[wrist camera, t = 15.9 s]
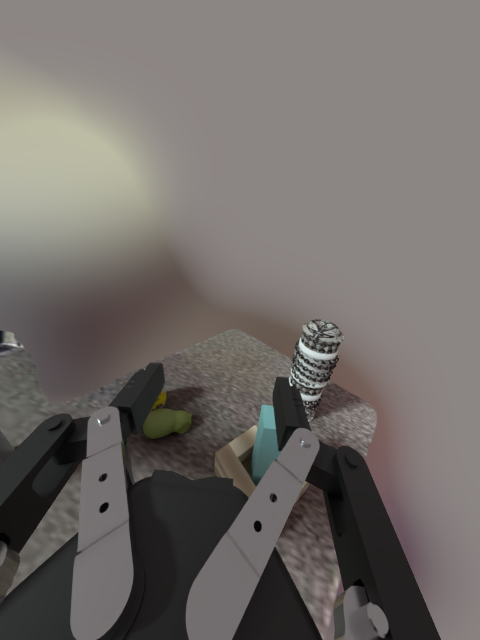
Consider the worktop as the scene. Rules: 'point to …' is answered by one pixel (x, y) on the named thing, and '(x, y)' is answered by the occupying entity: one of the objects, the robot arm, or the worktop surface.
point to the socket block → (241, 462)
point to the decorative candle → (314, 361)
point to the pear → (166, 422)
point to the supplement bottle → (160, 400)
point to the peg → (264, 445)
